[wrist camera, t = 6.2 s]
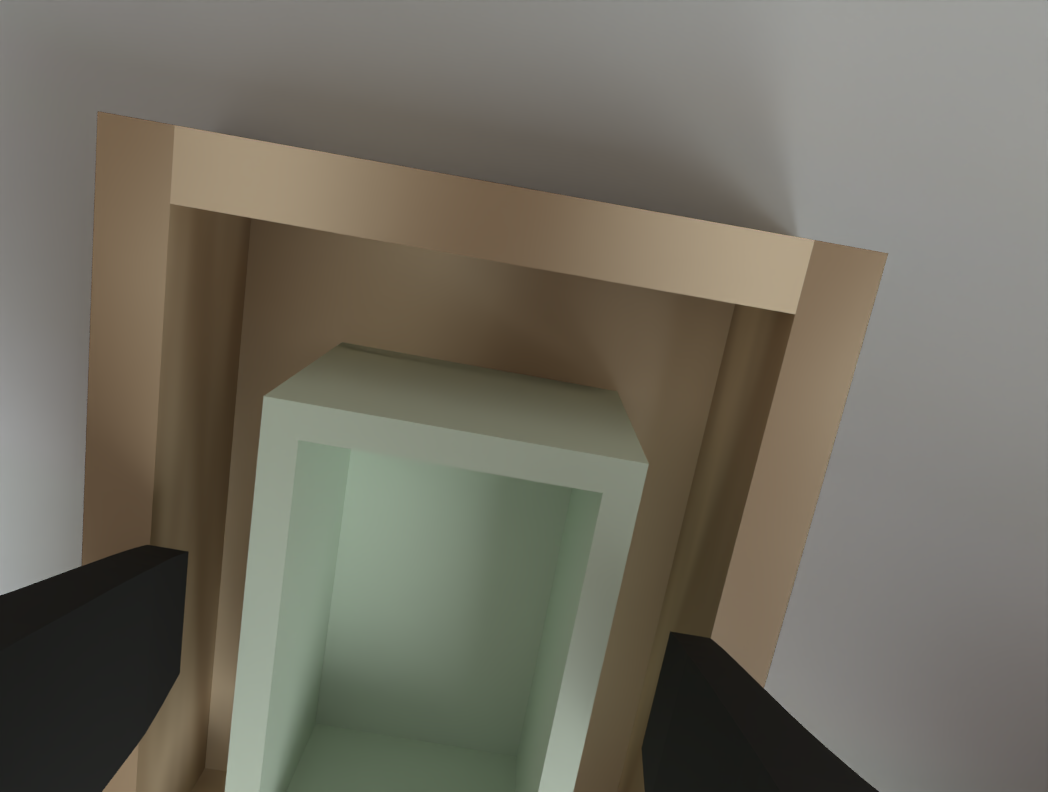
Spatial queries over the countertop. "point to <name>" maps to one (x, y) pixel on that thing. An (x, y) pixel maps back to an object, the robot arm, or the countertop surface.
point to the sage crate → (429, 577)
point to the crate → (463, 337)
